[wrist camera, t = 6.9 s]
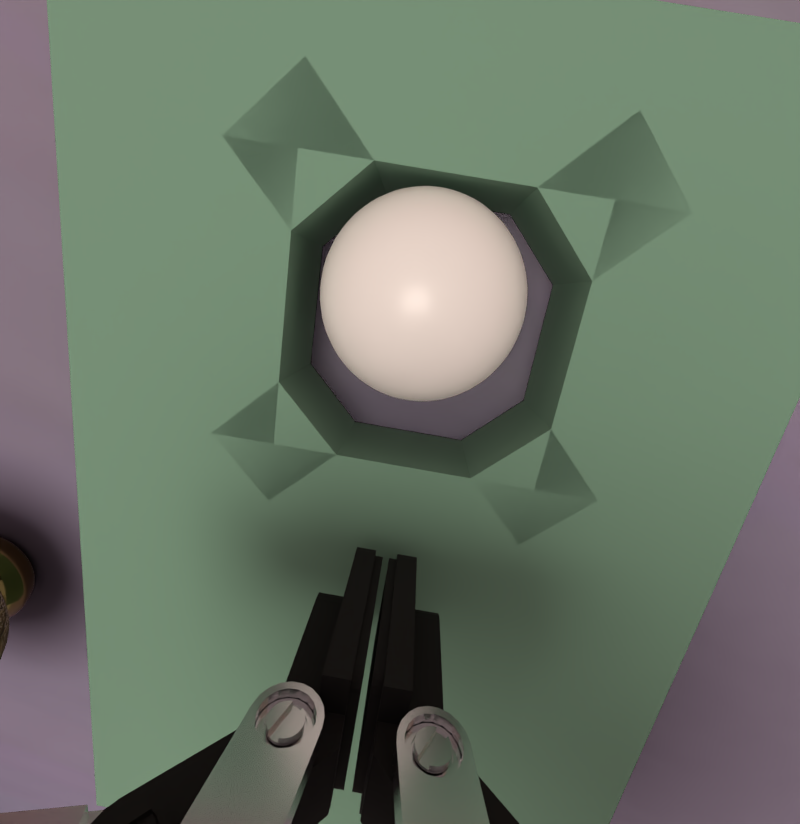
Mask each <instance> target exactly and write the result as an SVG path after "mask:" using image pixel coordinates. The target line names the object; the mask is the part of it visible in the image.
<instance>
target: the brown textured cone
mask: <svg viewBox="0 0 800 824" xmlns="http://www.w3.org/2000/svg"><path fill="white" fill-rule="evenodd" d="M34 584H35V575H34V570H33V567H32V565H31V563H30V561H29V560H28V558H27V557H26V555H25V554H24V553H23V552H22V551H21V550H20V549H19V548H18V547H17V546H15V545H14V544H13V543H11V542H9V541H8V540H6V539H4V538H1V537H0V659H1V657H2V654H3V651H4V649H5V646H6V643H7V638H8V631H9V618H10V617H12V616H14V615H15V614H16V613H18V612H19V611H20V610H21V609H22V607H23V606H24V605H25V603H26V602H27V600H28V599H29V597H30V595H31V593H32V591H33V588H34Z"/></svg>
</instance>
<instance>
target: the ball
mask: <svg viewBox="0 0 800 824" xmlns="http://www.w3.org/2000/svg"><path fill="white" fill-rule="evenodd" d="M527 292H528V286H527V277H526V271H525V266H524V262H523V259H522V255H521V253H520V251H519V248H518V246H517V244H516V242H515V240H514V238H513V236H512V235H511V233H510V232H509V230H508V229H507V227H506V226H505V225H504V223H503V222H502V221H501V220H500V219H499V218H498V217H497V216H496V215H495V214H494V213H493V212H492V211H491V210H490V209H488V208H487V207H486V206H485V205H484V204H482V203H481V202H479V201H477V200H476V199H474V198H472V197H470V196H468V195H466V194H463V193H461V192H458V191H455V190H452V189H448V188H443V187H437V186H415V187H408V188H402V189H398V190H395V191H392V192H390V193H387V194H385V195H383V196H380V197H378V198H376V199H375V200H373V201H371V202H370V203H368V204H367V205H365V206H364V207H363V208H361V209H360V210H359V211H358V212H357V213H355V214H354V215H353V216H352V217H351V219H350V220H349V221H348V222H347V223H346V224H345V225H344V227H343V228H342V229H341V231H340V232H339V234H338V235H337V236H336V238H335V240H334V242H333V244H332V246H331V248H330V250H329V253H328V255H327V257H326V260H325V264H324V267H323V272H322V278H321V285H320V305H321V313H322V320H323V323H324V327H325V330H326V333H327V335H328V338H329V340H330V342H331V344H332V347H333V348H334V350H335V352H336V353H337V355H338V356H339V358H340V359H341V361H342V362H343V363H344V364H345V365H346V367H347V368H348V369H349V370H350V371H351V372H352V373H353V374H354V375H355V376H356V377H358V378H359V379H360V380H361V381H362V382H364V383H366V384H367V385H369V386H370V387H372V388H373V389H375V390H377V391H379V392H382V393H384V394H386V395H388V396H391V397H395V398H399V399H403V400H410V401H434V400H441V399H445V398H449V397H453V396H456V395H458V394H461V393H463V392H465V391H468V390H470V389H471V388H473V387H475V386H476V385H478V384H480V383H481V382H482V381H484V380H485V379H486V378H487V377H489V376H490V375H491V374H492V373H493V372H494V371H495V370H496V369H497V368H498V367H499V366H500V365H501V364H502V362H503V361H504V360H505V359H506V357H507V356H508V354H509V353H510V351H511V350H512V348H513V346H514V344H515V342H516V340H517V338H518V336H519V334H520V331H521V328H522V325H523V322H524V318H525V313H526V308H527Z"/></svg>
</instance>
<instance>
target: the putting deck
mask: <svg viewBox="0 0 800 824" xmlns="http://www.w3.org/2000/svg"><path fill="white" fill-rule="evenodd" d="M47 11H48V27H49V43H50V59H51V75H52V91H53V107H54V124H55V140H56V156H57V172H58V188H59V204H60V220H61V236H62V253H63V269H64V285H65V301H66V317H67V333H68V349H69V365H70V382H71V398H72V414H73V430H74V446H75V462H76V478H77V494H78V511H79V527H80V543H81V559H82V575H83V591H84V607H85V623H86V639H87V656H88V672H89V688H90V704H91V720H92V736H93V752H94V768H95V785H96V801H97V805H98V806H104V807H108V806H110V805H111V804H113V803H114V802H115V801H117V800H118V799H119V798H121V797H123V796H124V795H126V794H128V793H129V792H131V791H133V790H135V789H136V788H138V787H140V786H141V785H143V784H145V783H147V782H148V781H150V780H152V779H153V778H155V777H157V776H158V775H160V774H162V773H164V772H165V771H167V770H169V769H170V768H172V767H174V766H175V765H177V764H179V763H181V762H182V761H184V760H186V759H187V758H189V757H191V756H193V755H194V754H196V753H198V752H199V751H201V750H203V749H204V748H206V747H208V746H210V745H211V744H213V743H215V742H216V741H218V740H220V739H221V738H223V737H225V736H227V735H228V734H230V733H232V732H233V731H235V730H237V728H238V727H239V725H240V723H241V722H242V720H243V718H244V717H245V715H246V713H247V711H248V710H249V708H250V706H251V705H252V703H253V702H254V701H255V700H256V698H257V697H258V696H259V695H260V694H261V693H262V692H264V691H265V690H266V689H268V688H269V687H271V686H274V685H276V684H279V683H283V682H286V680H287V677H288V675H289V672H290V669H291V666H292V664H293V661H294V658H295V655H296V652H297V650H298V647H299V644H300V641H301V639H302V636H303V633H304V630H305V628H306V625H307V622H308V619H309V617H310V614H311V611H312V608H313V606H314V603H315V600H316V597H317V595H318V593H319V592H321V593H326V594H332V595H338V596H343V597H344V593H345V589H346V586H347V582H348V578H349V575H350V571H351V567H352V564H353V560H354V556H355V553H356V549H357V547H361V548H367V549H372V550H376V556H380V557H383V560H382V566H381V572H380V578H379V584H378V590H377V597H376V603H375V609H374V615H373V621H372V627H371V633H370V639H369V646H368V652H367V658H366V664H365V670H364V676H363V682H362V688H361V694H360V700H359V705H358V711H357V717H356V723H355V729H354V734H353V740H352V746H351V752H350V758H349V763H348V769H347V775H346V781H345V787H344V790H339V789H334V791H333V796H332V801H331V807H330V808H329V813H328V815H327V816H326V817H325V818H324V819H323V820H322V821H320V822H319V823H318V824H362V823H361V821H360V819H361V814H359V811H360V803H361V795H362V794H361V793H356V792H352V789H353V782H354V775H355V768H356V761H357V755H358V748H359V741H360V734H361V728H362V721H363V714H364V707H365V701H366V694H367V687H368V680H369V674H370V667H371V660H372V653H373V647H374V641H375V635H376V629H377V623H378V618H379V612H380V606H381V601H382V595H383V590H384V584H385V578H386V573H387V567H388V561H389V558H392V559H397V554H401V555H407V556H412V557H417V573H416V604H415V609H417V610H422V611H428V612H434V613H438V614H439V619H440V641H441V663H442V686H443V709H444V711H446V712H448V713H450V714H451V715H452V716H453V717H454V718H456V719H457V720H458V721H459V722H460V724H461V725H462V727H463V728H464V729H465V731H466V733H467V735H468V738H469V741H470V743H471V747H472V751H473V756H474V760H475V764H476V768H477V772H478V776H479V777H480V778H481V779H482V780H483V782H484V783H485V784H486V785H487V786H488V787H489V789H490V790H491V791H492V792H493V793H494V794H495V796H496V797H497V798H498V799H499V800H500V801H501V803H502V804H503V805H504V806H505V807H506V808H507V810H508V811H509V812H510V813H511V814H512V815H513V817H514V818H515V819H516V820H517V821H518V822H519V824H609V823H610V821H611V819H612V817H613V814H614V812H615V810H616V808H617V805H618V803H619V801H620V799H621V796H622V794H623V792H624V790H625V787H626V785H627V783H628V781H629V778H630V776H631V774H632V772H633V770H634V767H635V765H636V763H637V761H638V758H639V756H640V754H641V752H642V749H643V747H644V745H645V743H646V740H647V738H648V736H649V734H650V731H651V729H652V727H653V725H654V722H655V720H656V718H657V716H658V714H659V711H660V709H661V707H662V705H663V702H664V700H665V698H666V696H667V693H668V691H669V689H670V687H671V684H672V682H673V680H674V678H675V675H676V673H677V671H678V669H679V666H680V664H681V662H682V660H683V658H684V655H685V653H686V651H687V649H688V646H689V644H690V642H691V640H692V637H693V635H694V633H695V631H696V628H697V626H698V624H699V622H700V619H701V617H702V615H703V613H704V610H705V608H706V606H707V604H708V602H709V599H710V597H711V595H712V593H713V590H714V588H715V586H716V584H717V581H718V579H719V577H720V575H721V572H722V570H723V568H724V566H725V563H726V561H727V559H728V557H729V554H730V552H731V550H732V548H733V546H734V543H735V541H736V539H737V537H738V534H739V532H740V530H741V528H742V525H743V523H744V521H745V519H746V516H747V514H748V512H749V510H750V507H751V505H752V503H753V501H754V498H755V496H756V494H757V492H758V490H759V487H760V485H761V483H762V481H763V478H764V476H765V474H766V472H767V469H768V467H769V465H770V463H771V460H772V458H773V456H774V454H775V451H776V449H777V447H778V445H779V442H780V440H781V438H782V436H783V434H784V431H785V429H786V427H787V425H788V422H789V420H790V418H791V416H792V413H793V411H794V409H795V407H796V404H797V402H798V400H799V398H800V23H796V22H789V21H783V20H777V19H770V18H764V17H758V16H751V15H745V14H739V13H732V12H726V11H720V10H713V9H707V8H701V7H694V6H688V5H682V4H675V3H669V2H663V1H656V0H47ZM415 186H437V187H443V188H448V189H452V190H455V191H458V192H461V193H463V194H466V195H468V196H470V197H472V198H474V199H476V200H477V201H479V202H481V203H482V204H484V205H485V206H486V207H487V208H488V209H490V210H491V211H494V212H500V213H506V214H510V215H511V216H512V218H513V220H514V221H515V223H516V225H517V226H518V228H519V230H520V231H521V233H522V235H523V236H524V238H525V240H526V241H527V243H528V244H529V246H530V248H531V249H532V251H533V253H534V254H535V256H536V258H537V259H538V261H539V263H540V264H541V266H542V268H543V269H544V271H545V273H546V274H547V276H548V277H549V279H550V281H551V282H552V284H553V287H552V291H551V295H550V299H549V303H548V307H547V311H546V315H545V319H544V323H543V327H542V330H541V334H540V338H539V342H538V346H537V350H536V354H535V358H534V362H533V366H532V370H531V374H530V378H529V382H528V386H527V389H526V393H525V397H524V401H522V402H521V403H519V404H517V405H516V406H514V407H513V408H511V409H510V410H508V411H506V412H505V413H503V414H502V415H500V416H499V417H497V418H495V419H494V420H492V421H491V422H489V423H488V424H486V425H484V426H483V427H481V428H480V429H478V430H477V431H475V432H474V433H472V434H470V435H469V436H467V437H466V438H464V439H463V440H456V439H450V438H445V437H439V436H433V435H427V434H422V433H416V432H410V431H404V430H399V429H393V428H387V427H381V426H376V425H370V424H364V423H358V422H355V421H354V420H353V419H352V417H351V416H350V415H349V413H348V412H347V411H346V409H345V408H344V407H343V406H342V404H341V403H340V402H339V400H338V399H337V398H336V396H335V395H334V394H333V393H332V391H331V390H330V389H329V387H328V386H327V385H326V383H325V382H324V381H323V379H322V378H321V377H320V376H319V374H318V373H317V372H316V370H315V369H314V368H313V366H312V365H311V354H312V344H313V335H314V325H315V315H316V305H317V295H318V286H319V276H320V266H321V256H322V247H323V245H325V244H326V243H327V242H328V241H330V240H331V239H332V238H333V237H334V236H336V235H337V234H338V233H339V232H340V231H341V229H342V228H343V227H344V225H345V224H346V223H347V222H348V221H349V220H350V219H351V217H352V216H353V215H354V214H355V213H357V212H358V211H359V210H360V209H361V208H363V207H364V206H365V205H367V204H368V203H370V202H371V201H373V200H375V199H376V198H378V197H380V196H383V195H385V194H387V193H390V192H392V191H395V190H398V189H402V188H408V187H415Z"/></svg>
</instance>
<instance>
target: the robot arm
mask: <svg viewBox="0 0 800 824" xmlns="http://www.w3.org/2000/svg"><path fill="white" fill-rule="evenodd" d="M382 560H383V557H380V556H376V550H372V549H367V548H361V547H357V549H356V553H355V556H354V560H353V564H352V567H351V571H350V575H349V578H348V582H347V586H346V589H345V593H344V597H343V596H338V595H332V594H326V593H321V592H319V593H318V595H317V597H316V600H315V603H314V606H313V608H312V611H311V614H310V617H309V619H308V622H307V625H306V628H305V630H304V633H303V636H302V639H301V641H300V644H299V647H298V650H297V652H296V655H295V658H294V661H293V664H292V666H291V669H290V672H289V675H288V677H287V680H286V682H283V683H279V684H276V685H274V686H271V687H269V688H268V689H266V690H265V691H264V692H262V693H261V694H260V695H259V696H258V697H257V698H256V700H255V701H254V702H253V703H252V705H251V706H250V708H249V710H248V711H247V713H246V715H245V717H244V718H243V720H242V722H241V723H240V725H239V727H238V728H237V730H235V731H233V732H232V733H230V734H228V735H227V736H225V737H223V738H221V739H220V740H218V741H216V742H215V743H213V744H211V745H210V746H208V747H206V748H204V749H203V750H201V751H199V752H198V753H196V754H194V755H193V756H191V757H189V758H187V759H186V760H184V761H182V762H181V763H179V764H177V765H175V766H174V767H172V768H170V769H169V770H167V771H165V772H164V773H162V774H160V775H158V776H157V777H155V778H153V779H152V780H150V781H148V782H147V783H145V784H143V785H141V786H140V787H138V788H136V789H135V790H133V791H131V792H129V793H128V794H126V795H124V796H123V797H121V798H119V799H118V800H117V801H115V802H114V803H113V804H111V805H110V806H108V807H107V808H106V809H104V810H99V811H89V812H88V806H87V805H79V806H69V807H59V808H49V809H38V810H28V811H18V812H8V813H0V824H318V823H319V822H320V821H322V820H323V819H324V818H325V817H326V816H327V815H328V813H329V808H330V807H331V801H332V796H333V791H334V789H339V790H344V787H345V781H346V775H347V769H348V763H349V758H350V752H351V746H352V740H353V734H354V729H355V723H356V717H357V711H358V705H359V700H360V694H361V688H362V682H363V676H364V670H365V664H366V658H367V652H368V646H369V639H370V633H371V627H372V621H373V615H374V609H375V603H376V597H377V590H378V584H379V578H380V572H381V566H382ZM416 573H417V557H412V556H407V555H401V554H397V559H392V558H389V561H388V567H387V573H386V578H385V584H384V590H383V595H382V601H381V606H380V612H379V618H378V623H377V629H376V635H375V641H374V647H373V653H372V660H371V667H370V674H369V680H368V687H367V694H366V701H365V707H364V714H363V721H362V728H361V734H360V741H359V748H358V755H357V761H356V768H355V775H354V782H353V789H352V792H356V793H361V794H362V795H361V803H360V811H359V814H361V819H360V821H361V823H362V824H519V822H518V821H517V820H516V819H515V818H514V817H513V815H512V814H511V813H510V812H509V811H508V810H507V808H506V807H505V806H504V805H503V804H502V803H501V801H500V800H499V799H498V798H497V797H496V796H495V794H494V793H493V792H492V791H491V790H490V789H489V787H488V786H487V785H486V784H485V783H484V782H483V780H482V779H481V778H480V777H479V776H478V772H477V768H476V764H475V760H474V756H473V751H472V747H471V743H470V741H469V738H468V735H467V733H466V731H465V729H464V728H463V727H462V725H461V724H460V722H459V721H458V720H457V719H456V718H454V717H453V716H452V715H451V714H450V713H448V712H446V711H444V709H443V686H442V663H441V641H440V619H439V614H438V613H434V612H428V611H422V610H417V609H415V604H416Z"/></svg>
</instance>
